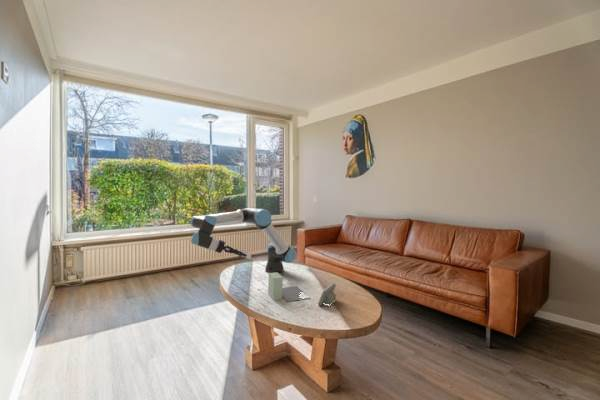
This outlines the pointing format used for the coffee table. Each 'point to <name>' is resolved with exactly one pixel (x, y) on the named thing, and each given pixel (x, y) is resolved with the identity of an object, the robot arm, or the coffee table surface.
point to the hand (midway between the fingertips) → (248, 256)
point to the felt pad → (291, 293)
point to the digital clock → (327, 295)
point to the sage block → (275, 286)
